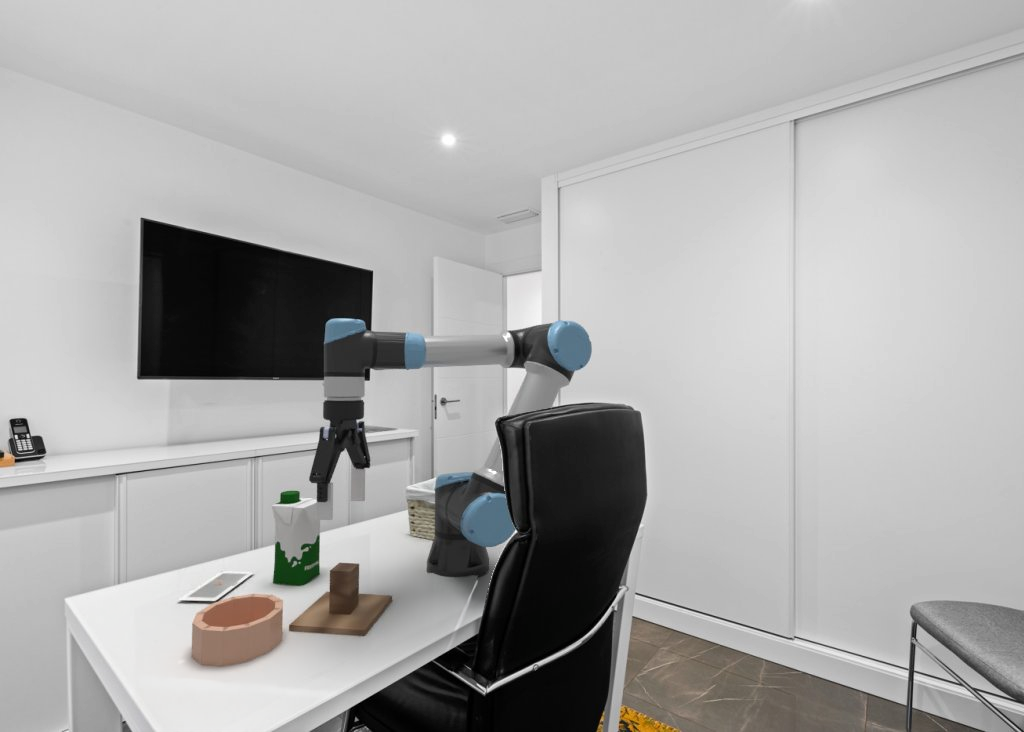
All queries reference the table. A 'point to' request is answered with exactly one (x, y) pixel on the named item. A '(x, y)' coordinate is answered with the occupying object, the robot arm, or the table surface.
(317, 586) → the table surface
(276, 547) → the milk carton
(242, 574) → the touchpad
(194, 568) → the table surface
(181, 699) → the table surface
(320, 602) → the cover board
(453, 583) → the table surface
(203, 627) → the bowl
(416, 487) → the storage basket
